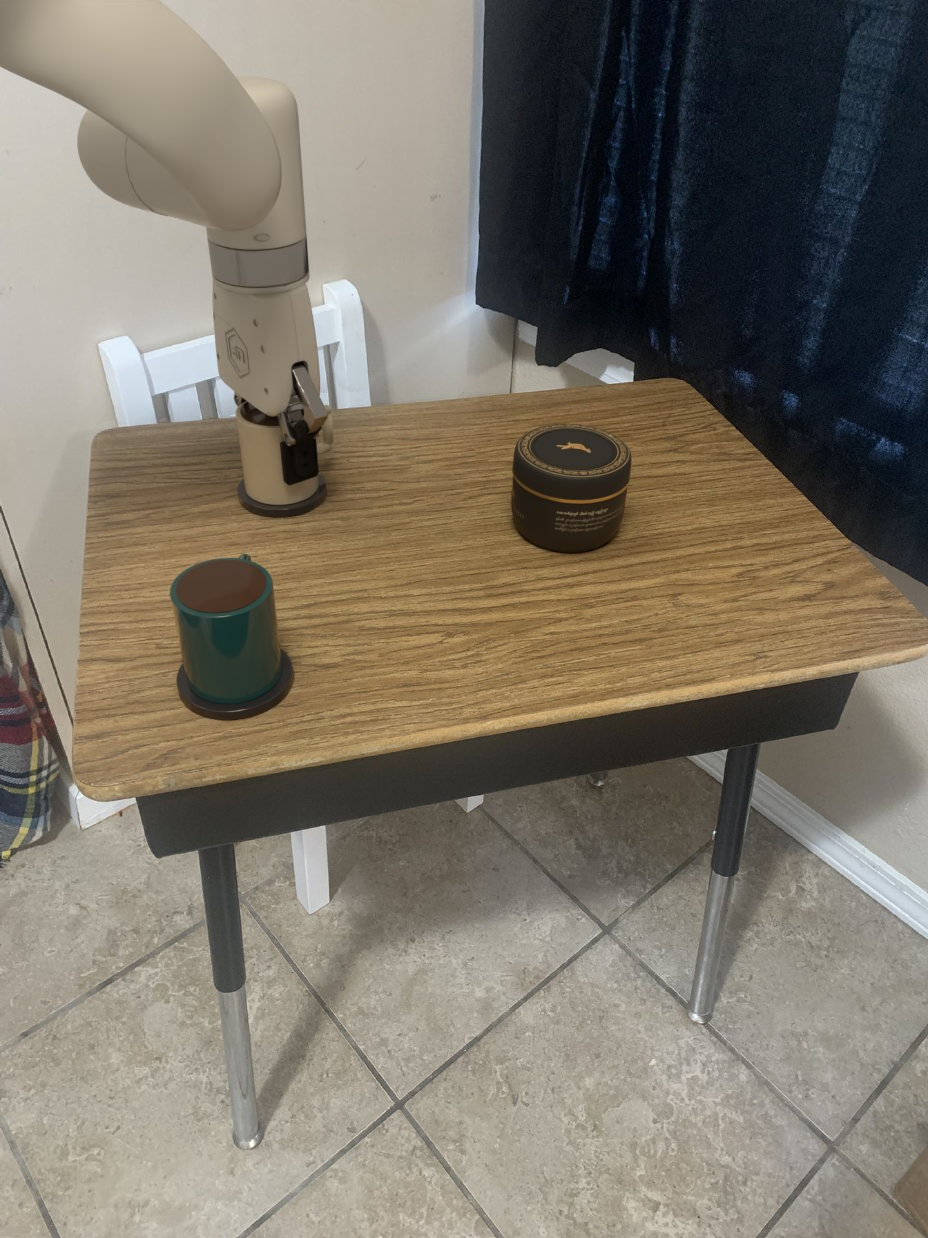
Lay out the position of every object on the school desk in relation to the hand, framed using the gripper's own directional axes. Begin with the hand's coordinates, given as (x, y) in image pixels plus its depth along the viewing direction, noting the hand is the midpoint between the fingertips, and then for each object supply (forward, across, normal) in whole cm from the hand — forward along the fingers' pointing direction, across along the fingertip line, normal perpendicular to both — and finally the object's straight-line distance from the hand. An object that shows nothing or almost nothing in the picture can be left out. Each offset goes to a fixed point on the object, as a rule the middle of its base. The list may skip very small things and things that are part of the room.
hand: (279, 460), depth 87 cm
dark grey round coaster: (+3, 0, 0) cm, 3 cm away
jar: (+4, +19, +18) cm, 26 cm away
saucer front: (+3, +20, -15) cm, 26 cm away
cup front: (+3, +19, -14) cm, 24 cm away
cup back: (+3, 0, +1) cm, 3 cm away
